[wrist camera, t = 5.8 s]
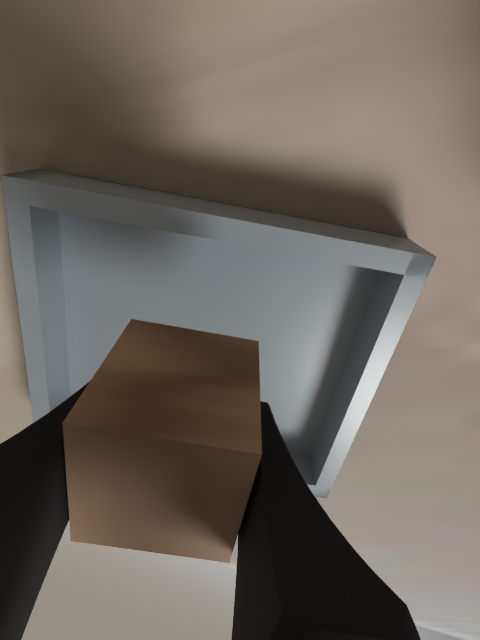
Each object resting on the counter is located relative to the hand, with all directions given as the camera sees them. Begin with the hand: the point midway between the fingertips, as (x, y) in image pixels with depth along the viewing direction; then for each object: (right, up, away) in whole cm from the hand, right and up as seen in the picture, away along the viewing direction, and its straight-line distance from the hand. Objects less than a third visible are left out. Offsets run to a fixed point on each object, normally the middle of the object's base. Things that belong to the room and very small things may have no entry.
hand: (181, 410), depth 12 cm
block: (0, +1, +1) cm, 2 cm away
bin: (0, +2, +9) cm, 9 cm away
